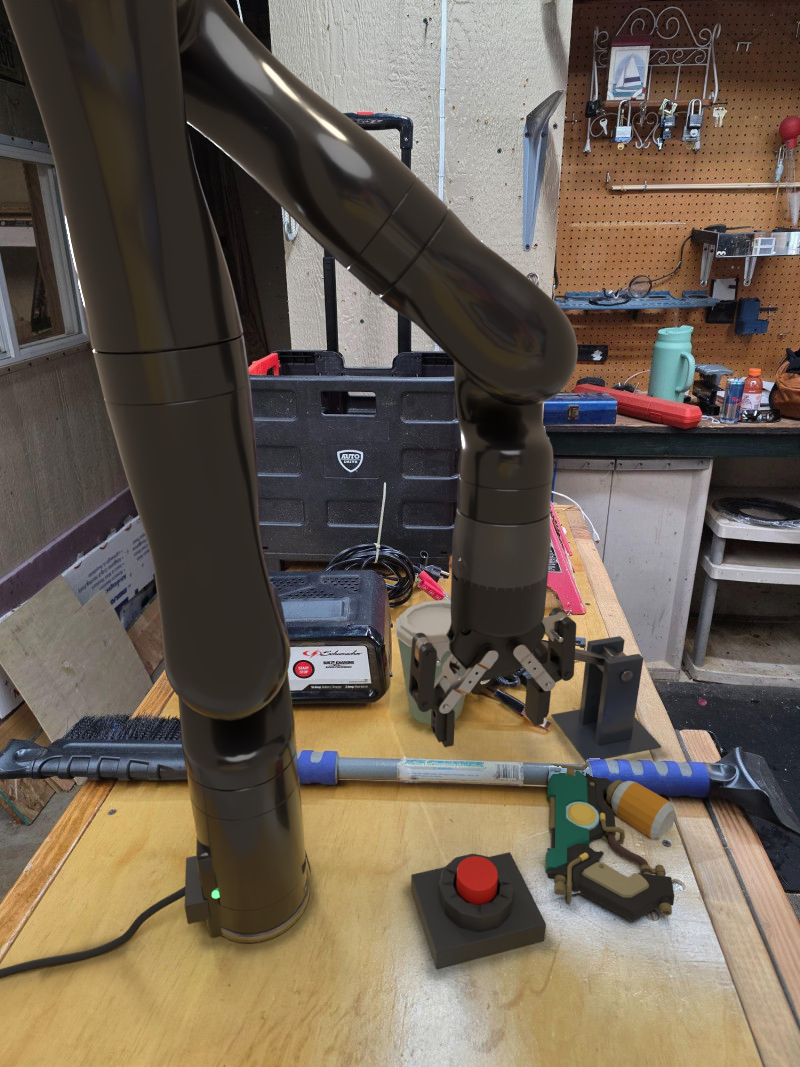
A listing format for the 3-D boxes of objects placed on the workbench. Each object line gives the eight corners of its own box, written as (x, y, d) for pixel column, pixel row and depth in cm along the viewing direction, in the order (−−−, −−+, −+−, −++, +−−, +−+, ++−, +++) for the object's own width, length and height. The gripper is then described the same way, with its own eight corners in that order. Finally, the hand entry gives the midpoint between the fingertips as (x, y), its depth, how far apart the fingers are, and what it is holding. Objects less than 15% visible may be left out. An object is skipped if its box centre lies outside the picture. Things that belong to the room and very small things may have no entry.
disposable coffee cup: (386, 734, 86) (384, 631, 80) (404, 685, 96) (403, 589, 90) (471, 746, 84) (475, 640, 78) (480, 694, 94) (484, 597, 88)
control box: (436, 970, 58) (436, 937, 57) (410, 891, 65) (410, 860, 64) (544, 941, 61) (548, 909, 59) (508, 868, 68) (510, 837, 66)
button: (464, 908, 60) (465, 894, 59) (451, 874, 63) (451, 860, 62) (503, 899, 60) (504, 884, 60) (488, 866, 64) (488, 852, 63)
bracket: (584, 769, 80) (596, 677, 75) (550, 721, 88) (558, 635, 83) (660, 754, 83) (675, 663, 78) (619, 709, 91) (631, 624, 86)
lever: (535, 666, 75) (544, 648, 74) (515, 641, 80) (523, 623, 79) (631, 685, 80) (640, 668, 79) (606, 660, 84) (614, 643, 84)
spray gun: (665, 951, 60) (502, 888, 67) (690, 814, 73) (552, 772, 80) (669, 919, 58) (502, 857, 65) (694, 784, 72) (553, 743, 78)
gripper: (555, 533, 59) (540, 690, 65) (398, 555, 55) (399, 721, 61) (605, 569, 53) (584, 740, 59) (432, 597, 48) (429, 778, 55)
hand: (489, 730), depth 60 cm, fingers open, 8 cm apart
